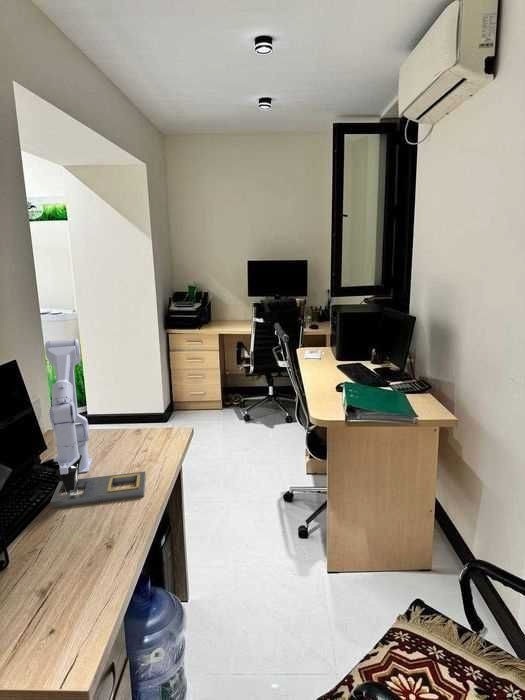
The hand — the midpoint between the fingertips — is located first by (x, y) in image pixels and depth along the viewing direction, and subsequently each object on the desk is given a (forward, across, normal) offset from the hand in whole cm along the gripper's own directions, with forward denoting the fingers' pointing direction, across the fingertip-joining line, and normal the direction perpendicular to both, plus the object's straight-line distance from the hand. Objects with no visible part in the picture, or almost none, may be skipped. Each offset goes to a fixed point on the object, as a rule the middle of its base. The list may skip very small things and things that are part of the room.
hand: (72, 484), depth 139 cm
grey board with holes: (+3, 0, +8) cm, 9 cm away
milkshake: (+4, 0, 0) cm, 4 cm away
